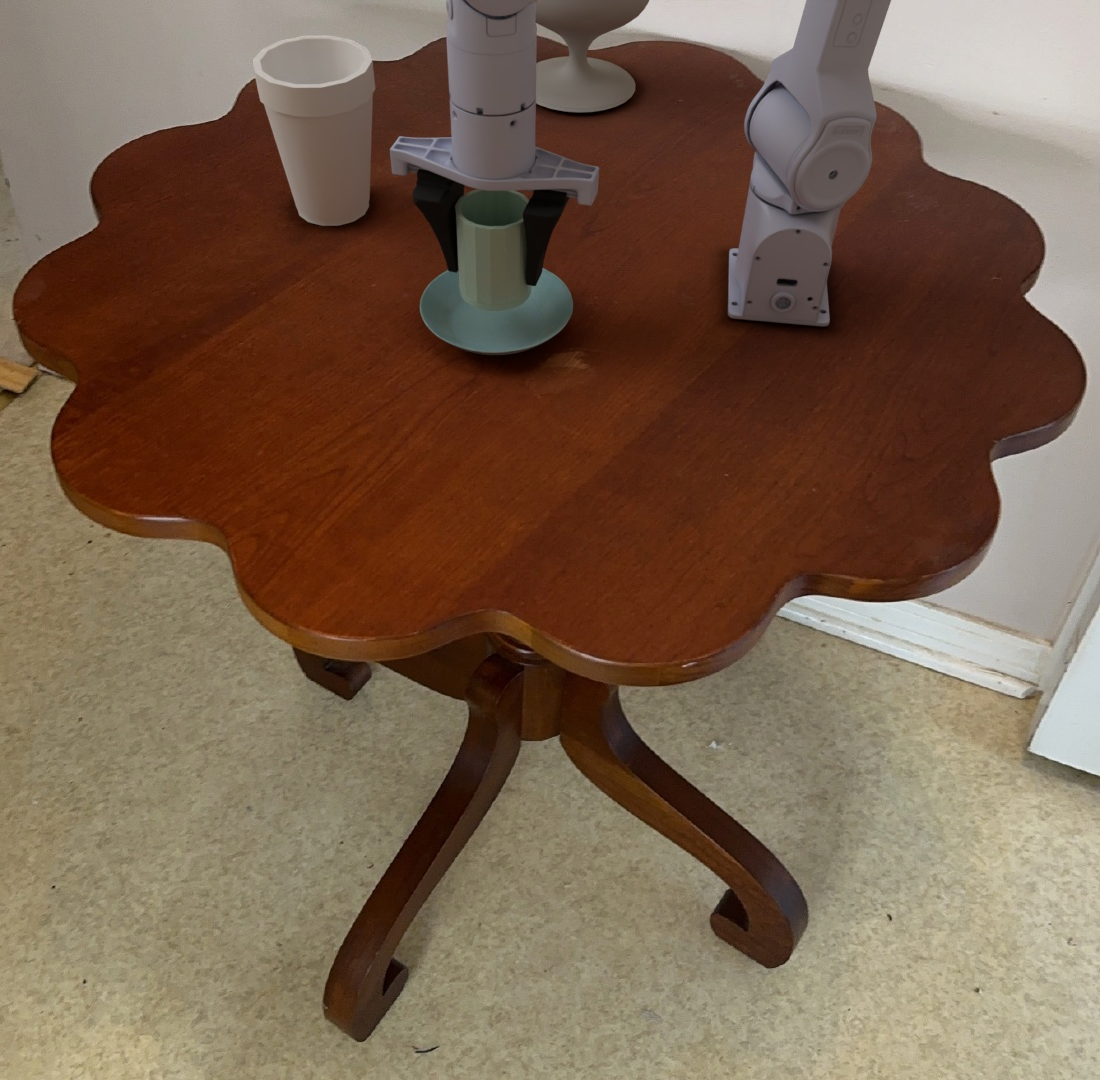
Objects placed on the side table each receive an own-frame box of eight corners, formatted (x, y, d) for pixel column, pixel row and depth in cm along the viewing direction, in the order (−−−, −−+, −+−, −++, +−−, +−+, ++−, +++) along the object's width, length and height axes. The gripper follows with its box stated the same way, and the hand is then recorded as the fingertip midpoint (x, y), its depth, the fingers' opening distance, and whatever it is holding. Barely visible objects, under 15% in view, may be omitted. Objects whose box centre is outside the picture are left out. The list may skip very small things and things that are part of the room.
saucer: (519, 394, 80) (519, 370, 79) (390, 339, 84) (388, 315, 83) (599, 313, 87) (601, 289, 85) (477, 266, 91) (476, 242, 89)
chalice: (496, 63, 116) (494, -92, 105) (622, 52, 119) (633, -100, 108) (525, 127, 107) (527, -35, 96) (661, 113, 110) (678, -46, 98)
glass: (539, 275, 85) (541, 193, 79) (520, 316, 81) (520, 234, 76) (471, 263, 85) (468, 182, 80) (449, 304, 82) (445, 221, 77)
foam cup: (331, 168, 101) (311, 25, 92) (408, 200, 98) (395, 55, 88) (256, 212, 96) (227, 65, 86) (335, 248, 92) (313, 99, 83)
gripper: (613, 84, 73) (601, 258, 84) (408, 55, 76) (421, 227, 86) (589, 133, 69) (580, 311, 79) (372, 101, 71) (390, 278, 81)
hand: (495, 271), depth 82 cm, fingers closed on glass, 5 cm apart
